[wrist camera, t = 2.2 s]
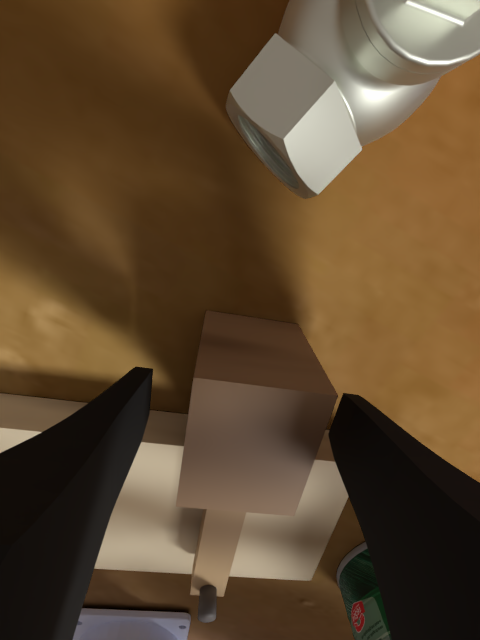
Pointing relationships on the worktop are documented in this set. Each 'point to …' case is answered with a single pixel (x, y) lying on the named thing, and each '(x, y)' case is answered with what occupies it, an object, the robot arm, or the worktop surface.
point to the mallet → (248, 435)
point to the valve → (345, 80)
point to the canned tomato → (362, 596)
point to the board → (184, 523)
